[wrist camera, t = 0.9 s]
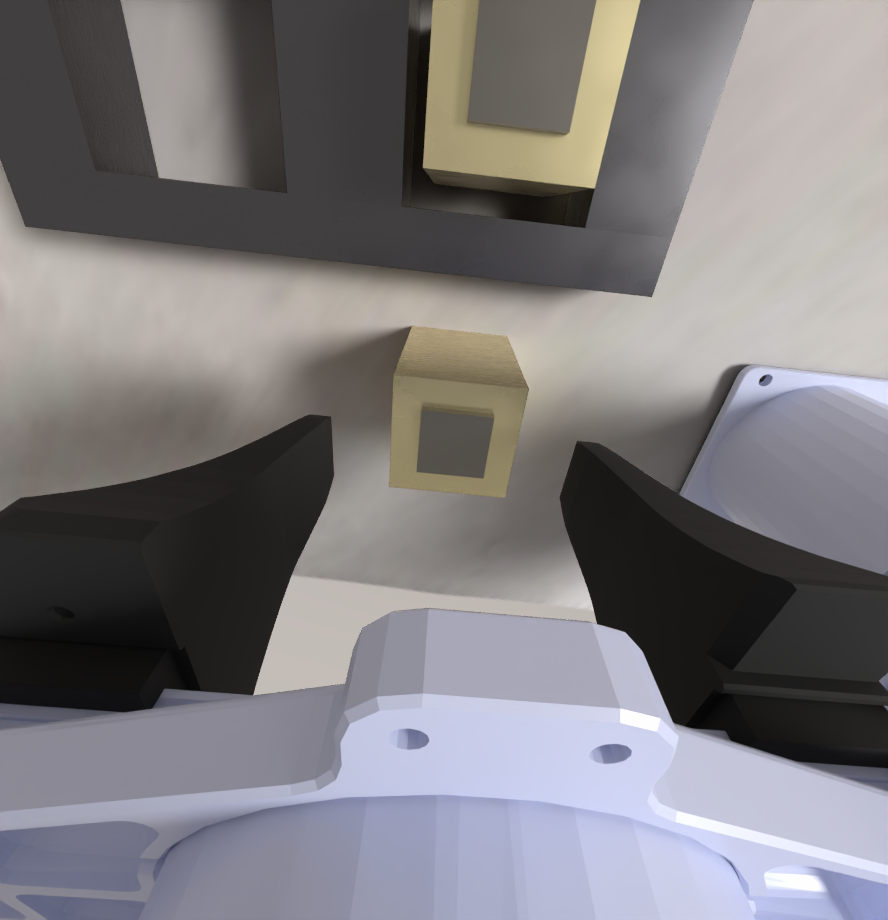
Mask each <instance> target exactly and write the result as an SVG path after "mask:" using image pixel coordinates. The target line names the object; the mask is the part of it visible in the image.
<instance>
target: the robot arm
mask: <svg viewBox="0 0 888 920" xmlns="http://www.w3.org/2000/svg"><path fill="white" fill-rule="evenodd" d="M764 375H766V378H765V379H764V381H762V382H760V383H759V380H760V379H761V377H762V376H764ZM333 477H334V467H333V447H332V426H331V417H328V416H318V415H308V416H305V417H303V418H300V419H298V420H296V421H294V422H292V423H290V424H288V425H286V426H285V427H283V428H281V429H279V430H277V431H275V432H273V433H271V434H269V435H267V436H265V437H263V438H261V439H259V440H257V441H254V442H252V443H250V444H248V445H245V446H243V447H241V448H239V449H237V450H234V451H232V452H230V453H227V454H225V455H222V456H220V457H217V458H214V459H211V460H209V461H206V462H203V463H200V464H197V465H194V466H191V467H187V468H184V469H180V470H176V471H172V472H169V473H165V474H161V475H158V476H154V477H150V478H146V479H141V480H136V481H132V482H127V483H122V484H117V485H111V486H106V487H100V488H94V489H88V490H81V491H73V492H65V493H58V494H50V495H42V496H34V497H24V498H20V499H18V500H17V501H15V502H14V503H12V504H11V505H9V506H8V507H6V508H5V509H4V510H2V511H1V512H0V920H888V379H880V378H870V377H861V376H852V375H843V374H834V373H824V372H815V371H806V370H797V369H787V368H778V367H769V366H760V365H750V366H747V367H745V368H744V369H742V370H741V371H740V373H739V374H738V376H737V378H736V380H735V382H734V384H733V386H732V388H731V390H730V392H729V394H728V396H727V398H726V400H725V402H724V404H723V406H722V408H721V410H720V412H719V414H718V416H717V418H716V420H715V422H714V424H713V426H712V428H711V430H710V432H709V434H708V436H707V439H706V441H705V443H704V445H703V447H702V449H701V451H700V453H699V455H698V457H697V459H696V461H695V463H694V465H693V467H692V469H691V471H690V473H689V475H688V477H687V479H686V481H685V483H684V485H683V487H682V489H681V491H680V493H679V494H677V493H676V492H674V491H672V490H671V489H669V488H667V487H666V486H664V485H662V484H661V483H659V482H658V481H656V480H654V479H653V478H651V477H650V476H648V475H647V474H645V473H644V472H642V471H641V470H639V469H638V468H636V467H635V466H633V465H632V464H631V463H629V462H628V461H626V460H625V459H623V458H622V457H620V456H619V455H617V454H616V453H614V452H612V451H611V450H609V449H608V448H606V447H604V446H602V445H600V444H598V443H591V442H581V441H577V443H576V446H575V449H574V453H573V456H572V459H571V462H570V466H569V469H568V472H567V475H566V479H565V482H564V485H563V488H562V492H561V495H560V501H561V507H562V513H563V518H564V522H565V526H566V529H567V532H568V535H569V538H570V541H571V544H572V546H573V549H574V552H575V555H576V557H577V560H578V563H579V566H580V568H581V571H582V574H583V577H584V579H585V582H586V585H587V588H588V591H589V594H590V597H591V600H592V604H593V608H594V613H595V617H596V621H597V624H595V623H592V622H588V621H577V620H565V619H553V618H540V617H528V616H516V615H506V614H494V613H482V612H469V611H458V610H444V609H433V608H424V609H412V610H401V611H393V612H391V613H389V614H387V615H385V616H383V617H381V618H380V619H378V620H376V621H375V622H373V623H371V624H369V625H367V626H365V627H363V628H362V630H361V633H360V635H359V638H358V640H357V642H356V644H355V647H354V649H353V653H352V657H351V662H350V666H349V670H348V674H347V679H346V683H345V684H340V685H331V686H324V687H316V688H308V689H300V690H293V691H285V692H277V693H270V694H262V695H253V694H254V690H255V686H256V682H257V679H258V676H259V673H260V669H261V666H262V663H263V659H264V656H265V653H266V650H267V646H268V643H269V640H270V636H271V634H272V630H273V628H274V624H275V621H276V618H277V615H278V612H279V609H280V606H281V603H282V600H283V598H284V595H285V592H286V589H287V586H288V583H289V581H290V578H291V575H292V573H293V570H294V568H295V566H296V563H297V561H298V559H299V557H300V555H301V553H302V551H303V549H304V547H305V545H306V543H307V541H308V539H309V537H310V535H311V532H312V530H313V528H314V526H315V524H316V522H317V520H318V518H319V516H320V514H321V512H322V510H323V508H324V505H325V503H326V500H327V497H328V494H329V491H330V488H331V484H332V481H333ZM733 522H735V523H736V524H735V523H733Z"/></svg>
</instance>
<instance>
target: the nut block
mask: <svg viewBox="0 0 888 920" xmlns="http://www.w3.org/2000/svg"><path fill="white" fill-rule="evenodd" d="M528 391H529V388H528V386H527V383H526V381H525V379H524V376H523V374H522V371H521V369H520V366H519V364H518V361H517V359H516V356H515V354H514V352H513V349H512V347H511V344H510V342H509V339H508V337H507V336H499V335H490V334H481V333H472V332H463V331H453V330H444V329H435V328H426V327H416V326H412V328H411V331H410V333H409V336H408V338H407V341H406V344H405V346H404V349H403V351H402V354H401V357H400V359H399V362H398V364H397V367H396V370H395V372H394V375H393V401H392V427H391V454H390V481H389V487H397V488H408V489H418V490H429V491H439V492H449V493H460V494H470V495H480V496H491V497H501V498H505V495H506V491H507V486H508V482H509V477H510V472H511V468H512V463H513V459H514V454H515V450H516V445H517V441H518V436H519V432H520V427H521V423H522V418H523V413H524V409H525V404H526V400H527V395H528Z"/></svg>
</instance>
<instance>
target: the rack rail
mask: <svg viewBox="0 0 888 920" xmlns="http://www.w3.org/2000/svg"><path fill="white" fill-rule="evenodd" d="M753 1H754V0H640V4H639V8H638V12H637V16H636V21H635V25H634V29H633V33H632V37H631V41H630V45H629V49H628V53H627V58H626V62H625V66H624V70H623V74H622V78H621V82H620V86H619V91H618V95H617V99H616V103H615V107H614V111H613V115H612V119H611V124H610V128H609V132H608V136H607V140H606V144H605V148H604V152H603V156H602V161H601V165H600V169H599V173H598V177H597V181H596V185H595V189H589V190H583V191H578V192H572V193H570V196H569V201H568V205H567V210H566V214H565V219H564V224H563V225H556V224H548V223H539V222H531V221H522V220H514V219H505V218H497V217H488V216H480V215H471V214H463V213H454V212H445V211H437V210H428V209H420V208H411V193H412V173H413V153H414V132H415V112H416V92H417V72H418V51H419V31H420V11H421V0H271V3H272V15H273V27H274V39H275V51H276V63H277V75H278V88H279V100H280V112H281V124H282V136H283V148H284V160H285V172H286V184H287V193H283V192H275V191H266V190H258V189H249V188H241V187H232V186H224V185H215V184H206V183H198V182H189V181H181V180H172V179H164V178H159V177H158V173H157V168H156V163H155V159H154V154H153V150H152V145H151V140H150V136H149V131H148V127H147V122H146V117H145V113H144V108H143V103H142V99H141V94H140V90H139V85H138V80H137V76H136V71H135V66H134V62H133V57H132V53H131V48H130V43H129V39H128V34H127V29H126V25H125V20H124V16H123V11H122V6H121V2H120V0H0V159H1V162H2V165H3V167H4V170H5V173H6V175H7V178H8V181H9V183H10V186H11V189H12V191H13V194H14V197H15V199H16V202H17V205H18V207H19V210H20V213H21V215H22V218H23V221H24V223H25V226H26V227H35V228H44V229H53V230H62V231H70V232H79V233H88V234H97V235H106V236H115V237H124V238H133V239H141V240H150V241H159V242H168V243H177V244H186V245H195V246H204V247H213V248H221V249H230V250H239V251H248V252H257V253H266V254H275V255H284V256H292V257H301V258H310V259H319V260H328V261H337V262H346V263H355V264H364V265H372V266H381V267H390V268H399V269H408V270H417V271H426V272H435V273H443V274H452V275H461V276H470V277H479V278H488V279H497V280H506V281H515V282H523V283H532V284H541V285H550V286H559V287H568V288H577V289H586V290H594V291H603V292H612V293H621V294H630V295H639V296H648V297H652V295H653V292H654V289H655V286H656V283H657V280H658V278H659V275H660V272H661V269H662V266H663V263H664V260H665V257H666V254H667V251H668V248H669V246H670V243H671V240H672V237H673V234H674V231H675V228H676V225H677V222H678V219H679V216H680V213H681V211H682V208H683V205H684V202H685V199H686V196H687V193H688V190H689V187H690V184H691V181H692V178H693V176H694V173H695V170H696V167H697V164H698V161H699V158H700V155H701V152H702V149H703V146H704V144H705V141H706V138H707V135H708V132H709V129H710V126H711V123H712V120H713V117H714V114H715V111H716V109H717V106H718V103H719V100H720V97H721V94H722V91H723V88H724V85H725V82H726V79H727V77H728V74H729V71H730V68H731V65H732V62H733V59H734V56H735V53H736V50H737V47H738V44H739V42H740V39H741V36H742V33H743V30H744V27H745V24H746V21H747V18H748V15H749V12H750V9H751V7H752V4H753Z"/></svg>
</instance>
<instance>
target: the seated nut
mask: <svg viewBox="0 0 888 920" xmlns="http://www.w3.org/2000/svg"><path fill="white" fill-rule="evenodd" d="M639 4H640V0H433V8H432V24H431V41H430V58H429V74H428V91H427V108H426V124H425V141H424V158H423V169H424V170H425V171H426V173H427V174H428V175H429V177H430V178H431V179H432V181H433V182H434V183H435V184H442V185H450V186H458V187H467V188H475V189H484V190H492V191H500V192H509V193H517V194H526V195H534V196H542V197H549V196H555V195H560V194H566V193H572V192H578V191H583V190H589V189H595V185H596V181H597V177H598V173H599V169H600V165H601V161H602V156H603V152H604V148H605V144H606V140H607V136H608V132H609V128H610V124H611V119H612V115H613V111H614V107H615V103H616V99H617V95H618V91H619V86H620V82H621V78H622V74H623V70H624V66H625V62H626V58H627V53H628V49H629V45H630V41H631V37H632V33H633V29H634V25H635V21H636V16H637V12H638V8H639Z"/></svg>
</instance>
